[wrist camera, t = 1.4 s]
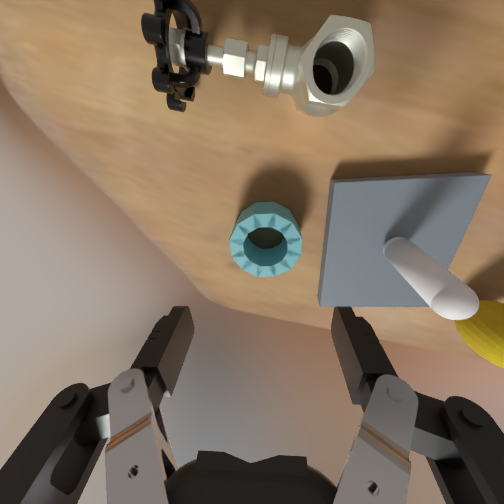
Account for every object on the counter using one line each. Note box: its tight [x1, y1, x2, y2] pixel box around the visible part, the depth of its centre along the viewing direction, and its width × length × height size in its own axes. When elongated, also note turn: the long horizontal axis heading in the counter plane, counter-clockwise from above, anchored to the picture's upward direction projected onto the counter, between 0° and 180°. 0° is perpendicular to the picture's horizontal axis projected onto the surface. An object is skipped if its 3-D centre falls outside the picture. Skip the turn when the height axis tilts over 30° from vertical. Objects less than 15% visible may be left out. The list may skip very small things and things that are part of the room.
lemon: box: [455, 300, 504, 368], centre depth 22 cm, size 6×6×8 cm
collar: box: [229, 201, 302, 277], centre depth 21 cm, size 6×6×4 cm
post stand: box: [318, 172, 491, 320], centre depth 18 cm, size 12×14×10 cm
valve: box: [141, 0, 374, 117], centre depth 13 cm, size 7×7×12 cm
